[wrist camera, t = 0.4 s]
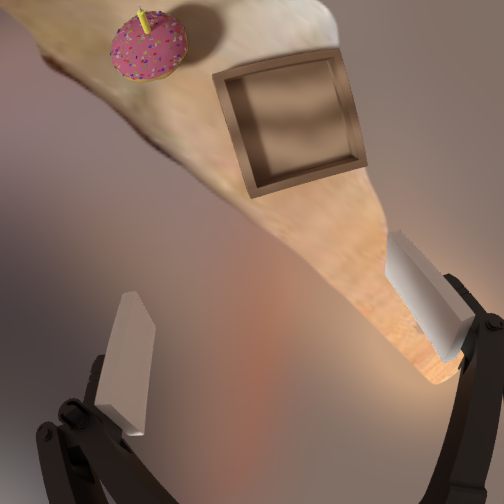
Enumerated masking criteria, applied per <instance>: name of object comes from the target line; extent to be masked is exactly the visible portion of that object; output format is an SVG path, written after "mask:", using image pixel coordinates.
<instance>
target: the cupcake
mask: <svg viewBox="0 0 504 504" xmlns="http://www.w3.org/2000/svg"><path fill="white" fill-rule="evenodd" d="M113 40H114V41H113ZM113 40H112V42H113V43H112V46H111V53H110V55H111V56H112V62H113V64H114V66H115V68H116V69H117V70H118V72H119V73H120V74H121V75H122V76H123V77H125V78H126V79H128V80H129V81H132V82H137V83H143V82H150V81H154V80H159V79H164V78H166V77H167V76H169V75H170V74H172V73H173V72H174V71H175V70H176V68H177V67H178V66H179V64H180V63H181V62H182V60H183V58H184V57H185V55H186V54H187V52H188V42H187V36H186V32H185V28H184V27H183V25H182V24H181V23H180V22H179V20H177V19H176V18H174V17H173V16H171V15H169V14H166V13H162V12H161V11H159V12H156V11H149V12H148V11H147V12H146V11H145V12H144V10H141V6H139V11H138V12H137V16H136V15H135V17H133V18H132V19H131V20H129V21H128V22H127V23H125V25H124V26H123V27H122V28H121V29H120V30H118V32H117V34H116V35H115V38H114V39H113Z"/></svg>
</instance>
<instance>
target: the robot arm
mask: <svg viewBox="0 0 504 504" xmlns="http://www.w3.org/2000/svg"><path fill="white" fill-rule="evenodd" d="M385 276H386V277H387V279H388V280H389V281H390V283H391V284H392V286H393V287H394V288H395V290H396V291H397V293H398V294H399V296H400V297H401V298H402V300H403V301H404V303H405V304H406V306H407V307H408V309H409V310H410V312H411V313H412V315H413V316H414V318H415V319H416V321H417V322H418V324H419V325H420V327H421V328H422V330H423V331H424V333H425V334H426V336H427V338H428V339H429V341H430V342H431V344H432V346H433V347H434V349H435V350H436V352H437V354H438V355H439V357H440V359H441V360H442V362H443V363H444V364H445V363H447V362H449V361H451V360H453V359H455V358H457V356H458V354H459V352H460V350H462V352H463V353H464V357H463V359H462V361H461V363H460V365H459V367H458V369H459V370H460V368H461V372H460V378H459V383H458V388H457V392H456V397H455V402H454V406H453V410H452V414H451V418H450V422H449V425H448V429H447V432H446V436H445V439H444V443H443V446H442V449H441V452H440V456H439V458H438V461H437V464H436V467H435V470H434V472H433V475H432V478H431V480H430V483H429V485H428V488H427V490H426V493H425V495H424V497H423V498H422V500H421V501H420V502H419V504H485V502H486V498H487V490H486V489H485V487H484V486H485V480H486V477H487V473H488V470H489V466H490V462H491V458H492V454H493V449H494V444H495V440H496V434H497V429H498V423H499V417H500V410H501V403H502V394H503V399H504V320H503V319H502V318H501V317H500V316H498V315H496V314H493V313H487V312H486V311H485V310H484V309H483V308H482V306H481V305H480V304H479V303H478V301H477V300H476V299H475V298H474V297H473V296H472V294H471V293H469V291H468V290H467V289H466V288H465V287H464V285H463V284H462V283H461V282H460V281H459V280H458V279H457V278H456V277H454V276H452V275H451V274H446V275H442V274H441V273H440V272H439V271H438V270H437V269H436V268H435V266H434V265H433V264H432V263H431V262H430V261H429V260H428V259H427V258H426V257H425V256H424V254H423V253H421V251H420V250H419V249H418V248H417V247H416V246H415V245H414V244H413V243H412V242H411V241H410V240H409V239H408V238H407V237H406V236H405V235H404V234H403V233H402V232H401V231H400V230H398V231H393V232H389V233H388V236H387V253H386V266H385ZM155 330H156V327H155V325H154V323H153V321H152V320H151V318H150V316H149V314H148V312H147V311H146V309H145V307H144V305H143V304H142V301H141V299H140V298H139V296H138V294H137V292H136V291H132V292H127V293H123V295H122V298H121V302H120V305H119V308H118V312H117V315H116V318H115V322H114V326H113V329H112V333H111V336H110V340H109V344H108V347H107V351H106V354H105V355H98V357H97V358H96V360H95V361H94V363H93V365H92V369H91V372H90V374H91V375H90V377H89V383H88V384H87V388H86V393H85V397H84V401H83V403H82V402H81V401H80V400H78V399H75V398H72V399H69V400H67V401H65V402H64V403H63V404H62V405H61V407H60V409H59V412H58V418H59V421H61V422H62V423H63V425H60V426H56V425H55V424H54V423H52V422H44V423H43V424H41V425H40V426H39V428H38V429H37V432H36V442H37V448H38V454H39V460H40V465H41V470H42V475H43V480H44V484H45V488H46V492H47V496H48V500H49V504H109V503H108V501H107V498H106V496H105V493H104V491H103V488H102V485H101V483H100V480H101V482H102V483H103V485H104V486H105V488H106V489H107V491H108V492H109V494H110V495H111V496H112V498H113V499H114V501H115V502H116V503H117V504H179V503H178V502H177V501H176V500H175V499H174V498H173V497H172V496H171V495H170V494H169V493H168V491H167V490H166V489H165V488H164V487H163V486H162V485H161V484H160V483H159V482H158V480H157V479H156V478H155V477H154V476H153V475H152V473H151V472H150V471H149V470H148V469H147V468H146V466H145V465H144V464H143V463H142V461H141V460H140V459H139V458H138V456H137V455H136V454H135V453H134V451H133V450H132V449H131V448H130V446H129V445H128V444H127V442H126V441H125V440H124V439H123V438H122V437H121V436H122V430H123V431H124V432H125V433H126V434H128V435H144V428H145V416H146V405H147V404H146V403H147V394H148V385H149V375H150V367H151V360H152V352H153V344H154V337H155ZM99 479H100V480H99Z"/></svg>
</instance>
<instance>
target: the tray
mask: <svg viewBox="0 0 504 504" xmlns="http://www.w3.org/2000/svg"><path fill="white" fill-rule="evenodd" d="M212 79H213V82H214V85H215V88H216V91H217V94H218V98H219V101H220V104H221V107H222V110H223V114H224V117H225V120H226V123H227V126H228V130H229V133H230V136H231V139H232V142H233V146H234V149H235V152H236V155H237V159H238V162H239V165H240V168H241V172H242V175H243V178H244V181H245V185H246V188H247V191H248V194H249V196H250V198H251V199H253V198H256V197H260V196H263V195H266V194H269V193H273V192H276V191H279V190H283V189H286V188H290V187H293V186H297V185H300V184H303V183H307V182H310V181H314V180H318V179H321V178H325V177H328V176H332V175H336V174H339V173H343V172H347V171H351V170H354V169H358V168H362V167H366V166H368V164H367V159H366V154H365V148H364V144H363V139H362V134H361V129H360V125H359V120H358V116H357V112H356V108H355V103H354V99H353V95H352V91H351V88H350V84H349V80H348V77H347V73H346V70H345V66H344V63H343V59H342V56H341V53H340V50H339V48H338V49H330V50H322V51H315V52H309V53H302V54H296V55H291V56H285V57H280V58H275V59H270V60H266V61H261V62H257V63H253V64H248V65H244V66H240V67H237V68H233V69H229V70H225V71H222V72H218V73H215V74H212Z"/></svg>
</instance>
